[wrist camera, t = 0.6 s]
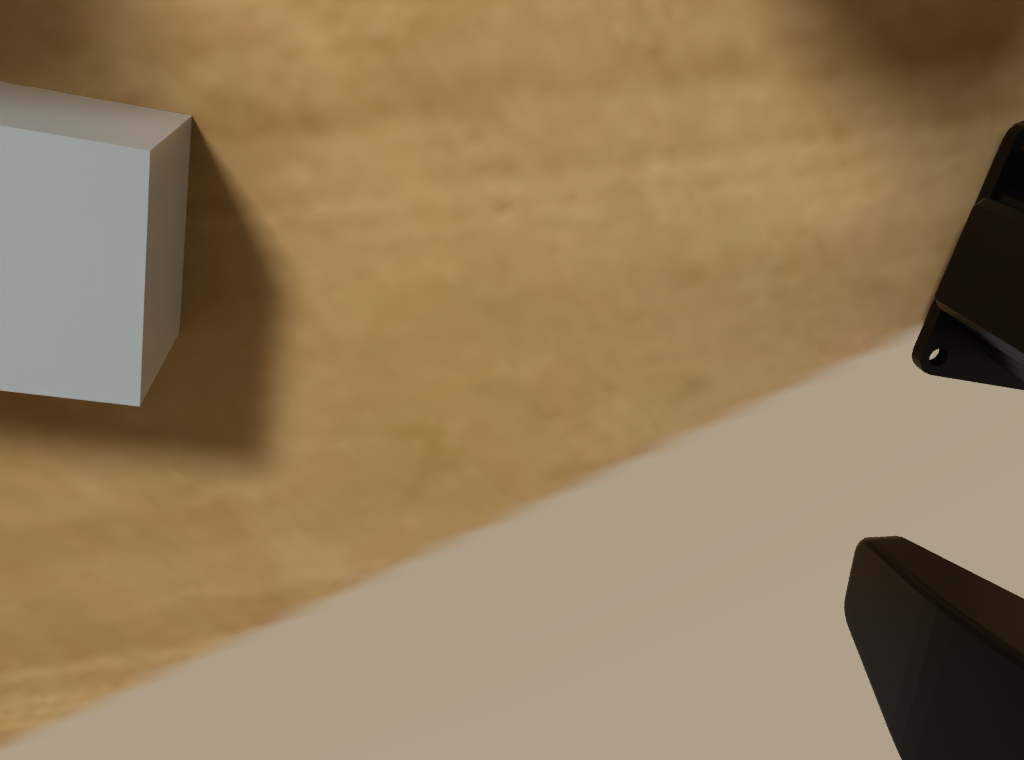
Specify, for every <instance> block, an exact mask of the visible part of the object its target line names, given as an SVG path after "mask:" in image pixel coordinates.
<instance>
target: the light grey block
mask: <svg viewBox="0 0 1024 760" xmlns="http://www.w3.org/2000/svg"><path fill="white" fill-rule="evenodd" d="M191 124H192V115H186V114H180V113H175V112H169V111H164V110H158V109H152V108H147V107H141V106H136V105H130V104H124V103H119V102H113V101H108V100H102V99H96V98H91V97H85V96H80V95H74V94H68V93H63V92H57V91H52V90H46V89H40V88H35V87H29V86H24V85H18V84H12V83H7V82H1V81H0V390H1V391H9V392H18V393H27V394H35V395H44V396H53V397H62V398H70V399H79V400H88V401H96V402H105V403H114V404H122V405H131V406H140V405H141V404H142V402H143V400H144V398H145V396H146V394H147V392H148V390H149V389H150V387H151V385H152V383H153V381H154V379H155V377H156V376H157V374H158V372H159V370H160V368H161V366H162V364H163V363H164V361H165V359H166V357H167V355H168V353H169V351H170V350H171V348H172V346H173V344H174V342H175V340H176V338H177V337H178V335H179V332H180V315H181V297H182V280H183V263H184V246H185V228H186V211H187V194H188V176H189V159H190V142H191Z"/></svg>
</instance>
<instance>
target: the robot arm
mask: <svg viewBox="0 0 1024 760" xmlns="http://www.w3.org/2000/svg"><path fill="white" fill-rule="evenodd" d="M1023 142H1024V121H1021V122H1019V123H1017V124H1015V125H1014V126H1013V127H1011V128H1010V129H1009V130H1008V132H1007V133H1006V135H1005V136H1004V138H1003V141H1002V143H1001V145H1000V148H999V150H998V152H997V155H996V157H995V159H994V162H993V164H992V166H991V169H990V171H989V173H988V176H987V178H986V180H985V183H984V185H983V187H982V190H981V192H980V194H979V197H978V199H977V201H976V204H975V205H974V207H973V208H972V211H971V213H970V215H969V218H968V220H967V222H966V225H965V227H964V229H963V232H962V234H961V236H960V239H959V241H958V243H957V246H956V248H955V250H954V253H953V255H952V257H951V260H950V262H949V264H948V267H947V269H946V271H945V274H944V276H943V278H942V281H941V283H940V285H939V288H938V290H937V292H936V295H935V299H934V301H933V304H932V306H931V308H930V311H929V313H928V315H927V318H926V320H925V322H924V325H923V327H922V329H921V332H920V334H919V336H918V339H917V341H916V343H915V346H914V349H913V353H912V359H913V362H914V363H915V365H916V366H917V367H919V368H920V369H921V370H922V371H924V372H925V373H928V374H930V375H935V376H941V377H947V378H953V379H959V380H965V381H972V382H978V383H984V384H990V385H996V386H1002V387H1009V388H1015V389H1020V390H1024V152H1023V150H1022V146H1023ZM936 349H939V353H938V354H937V356H936V357H935V358H933V359H931V360H929V357H930V354H931V353H932V352H933V351H935V350H936ZM844 605H845V606H844V609H845V616H846V621H847V624H848V627H849V630H850V632H851V635H852V637H853V640H854V643H855V645H856V648H857V650H858V653H859V655H860V658H861V660H862V663H863V665H864V668H865V670H866V673H867V675H868V678H869V681H870V683H871V686H872V688H873V691H874V693H875V696H876V699H877V701H878V704H879V706H880V709H881V711H882V714H883V716H884V719H885V721H886V724H887V727H888V729H889V732H890V734H891V736H892V738H893V741H894V743H895V746H896V748H897V750H898V753H899V755H900V757H901V759H902V760H1024V599H1023V598H1021V597H1019V596H1017V595H1015V594H1013V593H1011V592H1009V591H1007V590H1005V589H1003V588H1001V587H999V586H997V585H995V584H993V583H992V582H990V581H987V580H985V579H984V578H982V577H980V576H978V575H976V574H974V573H972V572H970V571H968V570H966V569H964V568H962V567H960V566H958V565H956V564H954V563H952V562H950V561H948V560H946V559H944V558H942V557H940V556H938V555H936V554H934V553H932V552H930V551H929V550H927V549H925V548H923V547H921V546H919V545H917V544H915V543H913V542H911V541H909V540H907V539H905V538H902V537H898V536H887V537H868V538H864V539H863V540H861V541H860V542H859V543H858V545H857V547H856V550H855V554H854V558H853V563H852V568H851V572H850V577H849V582H848V586H847V591H846V596H845V603H844Z"/></svg>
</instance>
